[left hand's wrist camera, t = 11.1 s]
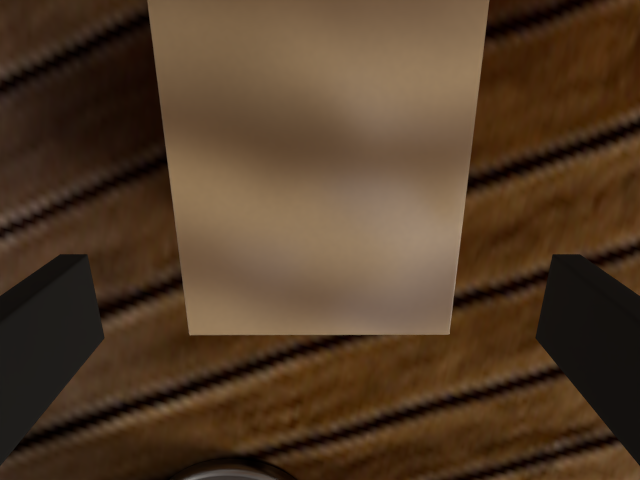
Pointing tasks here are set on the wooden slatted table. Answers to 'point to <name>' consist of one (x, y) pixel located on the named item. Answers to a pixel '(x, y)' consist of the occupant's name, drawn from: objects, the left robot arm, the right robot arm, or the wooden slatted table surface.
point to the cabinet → (318, 159)
